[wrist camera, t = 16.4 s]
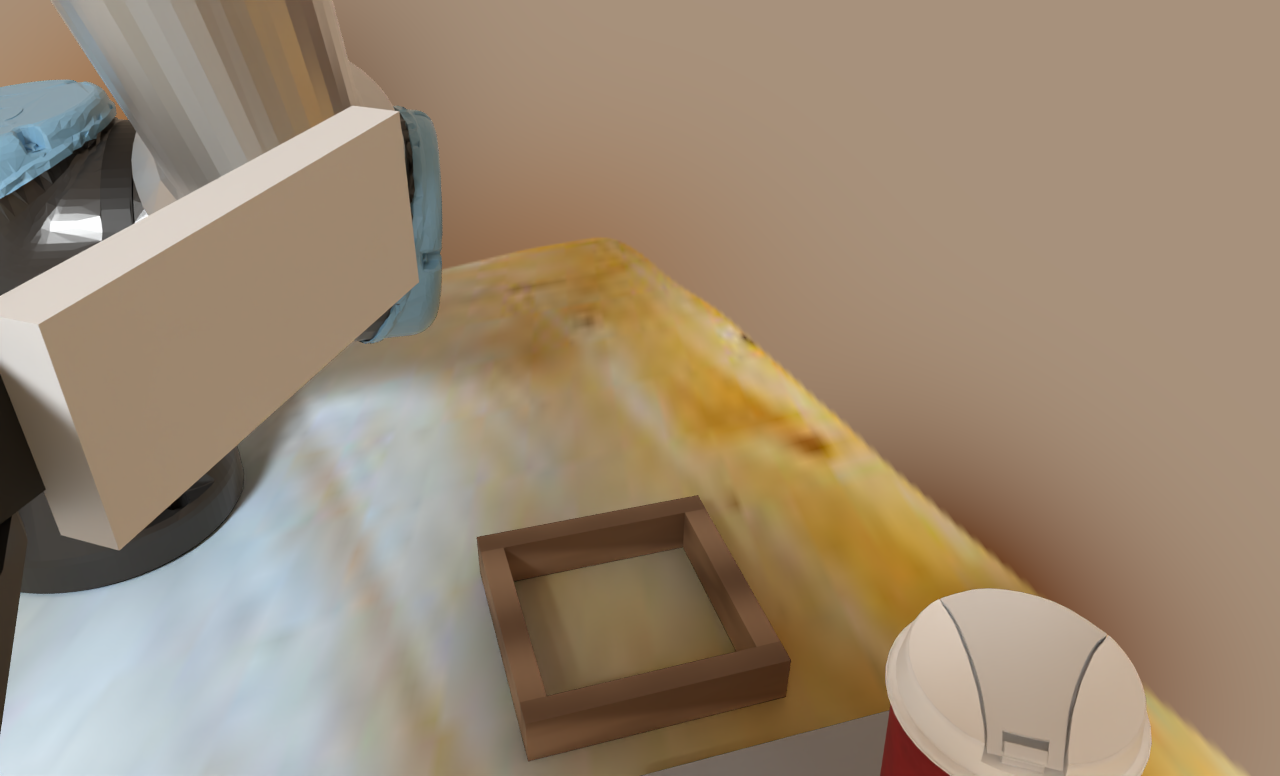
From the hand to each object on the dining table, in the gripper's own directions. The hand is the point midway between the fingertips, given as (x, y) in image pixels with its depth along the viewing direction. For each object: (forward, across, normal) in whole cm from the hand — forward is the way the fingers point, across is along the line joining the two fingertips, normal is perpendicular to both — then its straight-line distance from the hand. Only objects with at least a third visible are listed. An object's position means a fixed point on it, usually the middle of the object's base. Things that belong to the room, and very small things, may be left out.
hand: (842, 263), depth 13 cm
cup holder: (+21, -10, -32) cm, 40 cm away
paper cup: (+10, +6, -31) cm, 33 cm away
